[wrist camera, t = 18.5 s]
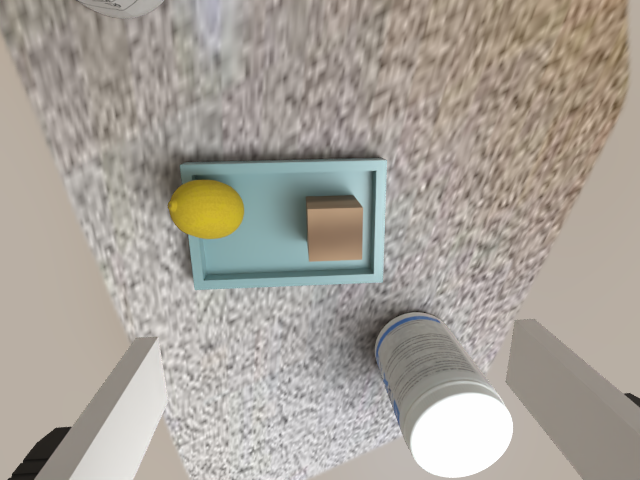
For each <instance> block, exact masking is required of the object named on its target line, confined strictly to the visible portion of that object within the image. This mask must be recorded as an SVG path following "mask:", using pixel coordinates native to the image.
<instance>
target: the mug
mask: <svg viewBox="0 0 640 480" xmlns="http://www.w3.org/2000/svg"><path fill="white" fill-rule="evenodd" d="M76 1H78V2H80V3H81V4H83V5H84V6H86V7H88V8H90V9H91V10H94V11H96V12H98V13H101V14H103V15H106V16H110V17H114V18H125V19H129V18H136V17H140V16H143V15H145V14H147V13H149V12H151V11H153V10H154V9H155V8H157V7H158V6H159V5H160V4H161V3H162V2H163V1H164V0H76Z"/></svg>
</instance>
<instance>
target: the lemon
mask: <svg viewBox="0 0 640 480" xmlns="http://www.w3.org/2000/svg"><path fill="white" fill-rule="evenodd" d="M168 208H169V211H170V215H171V218H172V220H173V222H174V223H175V225H176V226H177V227H178V228H179V229H180V230H181V231H183V232H184V233H186V234H189V235H192V236H194V237H198V238H202V239H218V238H223V237H226V236H228V235H230V234H232V233H233V232H234V231H235V230H236V229H237V228H238V227H239V226H240V224H241V223H242V220H243V217H244V204H243V201H242V199H241V197H240V195H239V194H238V193H237V192H236V191H235V190H234V189H233V188H232V187H231V186H229V185H227V184H224V183H222V182H219V181H215V180H193V181H189V182H187V183H185V184H183V185H181V186H180V187H179V188H178V189H177V190H176V191H175V192H174V194H173V195H172V197H171V200H170V202H169V203H168Z"/></svg>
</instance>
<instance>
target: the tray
mask: <svg viewBox="0 0 640 480" xmlns="http://www.w3.org/2000/svg"><path fill="white" fill-rule="evenodd" d="M180 172H181V180H182V185H183V184H185V183H187V182H189V181H193V180H215V181H219V182H222V183H224V184H227V185H229V186H231V187H232V188H233V189H234V190H235V191H236V192H237V193H238V194H239V195H240V197H241V199H242V201H243V204H244V217H243V220H242V223H241V224H240V226H239V227H238V228H237V229H236V230H235V231H234V232H233V233H232V234H230V235H228V236H226V237H223V238H218V239H202V238H198V237H194V236H192V235H189V234H188V238H189V246H190V254H191V262H192V271H193V279H194V287H195V290H204V289H229V288H253V287H278V286H303V285H328V284H353V283H378V282H383V261H384V232H385V202H386V172H387V160H386V159H383V158H345V159H302V160H259V161H215V162H186V163H183V164H181V165H180ZM340 195H354V196H355V198H356V199H357V200H358V202H359V203H360V204H361V205H362V207H363V244H362V260H341V261H314V262H309V256H308V246H307V220H306V196H340Z"/></svg>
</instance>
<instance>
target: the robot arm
mask: <svg viewBox="0 0 640 480" xmlns="http://www.w3.org/2000/svg"><path fill="white" fill-rule="evenodd" d="M506 383H507V385H508V386H509V387H510V388H511V390H512V391H513V392H514V393H515V395H516V396H517V397H518V398H519V400H520V401H521V402H522V403H523V405H524V406H525V407H526V408H527V410H528V411H529V412H530V413H531V414H532V416H533V417H534V418H535V420H536V421H537V422H538V423H539V425H540V426H541V427H542V428H543V430H544V431H545V432H546V433H547V435H548V436H549V437H550V438H551V440H552V441H553V442H554V443H555V444H556V446H557V447H558V449H559V450H560V451H561V452H562V454H563V455H564V456H565V457H566V459H567V460H568V461H569V462H570V464H571V465H572V466H573V467H574V469H575V470H576V471H577V472H578V474H579V475H580V476H581V477H582V479H583V480H640V398H638V397H636V396H634V395H632V394H630V393H627V394H623V393H622V392H621V391H619V390H618V389H617V388H616V387H615V386H613V385H612V384H611V383H610V382H609V381H608V380H606V379H605V378H604V377H603V376H601V375H600V374H599V373H598V372H597V371H596V370H594V369H593V368H592V367H591V366H590V365H588V364H587V363H586V362H585V361H584V360H583V359H581V358H580V357H579V356H578V355H577V354H575V353H574V352H573V351H572V350H571V349H569V348H568V347H567V346H566V345H565V344H564V343H562V342H561V341H560V340H559V339H558V338H556V337H555V336H554V335H553V334H552V333H550V332H549V331H548V330H547V329H546V328H544V327H543V326H542V325H541V324H540V323H539V322H537V321H536V320H535V319H527V320H515V322H514V329H513V335H512V342H511V349H510V356H509V363H508V370H507V377H506ZM167 403H168V396H167V389H166V383H165V377H164V370H163V364H162V358H161V352H160V345H159V339H158V337H142V338H136V339H135V340H134V342H133V343H132V344H131V346H130V347H129V349H128V350H127V351H126V353H125V354H124V356H123V357H122V358H121V360H120V361H119V362H118V364H117V365H116V367H115V368H114V369H113V371H112V372H111V374H110V375H109V376H108V378H107V379H106V380H105V382H104V383H103V385H102V386H101V388H100V389H99V390H98V392H97V393H96V394H95V396H94V397H93V399H92V400H91V401H90V403H89V404H88V406H87V407H86V408H85V410H84V411H83V412H82V414H81V415H80V417H79V418H78V419H77V421H76V422H75V424H74V425H73V426H72V427H61V428H55V429H54V430H53V431H51V432H50V433H49V434H47V435H46V436H45V437H44V438H42V439H41V440H40V441H39V442H37V443H36V445H35V446H34V447H33V449H32V450H31V451H30V452H29V454H28V455H27V456H26V457H25V458H24V460H23V463H21V464H20V465H19V466H18V467H17V469H16V470H15V471H14V472H13V474H12V477H11V478H9V479H8V480H133V479H134V477H135V475H136V472H137V470H138V468H139V466H140V463H141V461H142V459H143V457H144V454H145V452H146V450H147V448H148V445H149V443H150V441H151V439H152V436H153V434H154V432H155V430H156V427H157V425H158V423H159V421H160V418H161V416H162V414H163V412H164V410H165V407H166V405H167Z"/></svg>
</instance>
